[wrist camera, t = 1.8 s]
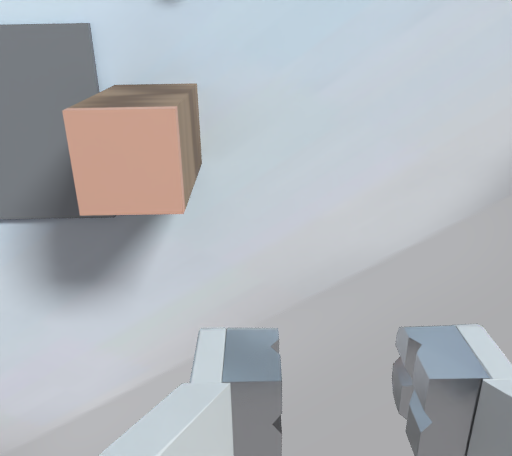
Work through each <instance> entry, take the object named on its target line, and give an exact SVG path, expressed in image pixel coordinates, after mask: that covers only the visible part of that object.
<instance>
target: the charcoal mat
mask: <svg viewBox="0 0 512 456" xmlns="http://www.w3.org/2000/svg"><path fill="white" fill-rule="evenodd" d="M97 93H99V86H98V79H97V72H96V64H95V57H94V50H93V43H92V36H91V28H90V23H76V24H21V25H0V219H45V218H103V217H115V216H116V215H90V216H80V213H79V207H78V201H77V195H76V189H75V183H74V177H73V171H72V165H71V159H70V154H69V148H68V142H67V136H66V130H65V124H64V118H63V112H62V110H64V109H66V108H68V107H71V106H73V105H75V104H77V103H79V102H81V101H83V100H85V99H87V98H89V97H91V96H93V95H95V94H97Z"/></svg>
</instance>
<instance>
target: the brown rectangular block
mask: <svg viewBox="0 0 512 456" xmlns="http://www.w3.org/2000/svg"><path fill="white" fill-rule="evenodd" d="M62 112H63V118H64V124H65V130H66V136H67V142H68V148H69V154H70V159H71V165H72V171H73V177H74V183H75V189H76V195H77V201H78V207H79V213H80V216H90V215H147V214H184V212H185V209H186V206H187V203H188V200H189V198H190V195H191V192H192V189H193V186H194V184H195V181H196V178H197V175H198V172H199V170H200V167H201V164H202V159H201V143H200V126H199V110H198V94H197V84H146V85H114V86H112V87H110V88H108V89H106V90H104V91H102V92H100V93H97V94H95V95H93V96H91V97H89V98H87V99H85V100H83V101H81V102H79V103H77V104H75V105H73V106H71V107H68V108H66V109H64V110H62Z"/></svg>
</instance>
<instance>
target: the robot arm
mask: <svg viewBox="0 0 512 456" xmlns="http://www.w3.org/2000/svg"><path fill="white" fill-rule="evenodd" d="M278 335H279V334H278V328H227V329H226V328H201V329H200V331H199V333H198V339H197V344H196V350H195V356H194V361H193V367H192V372H191V378H190V383H182V384H181V385H179V386H178V387H177V388H176V389H175V390H174V391H173V392H171V393H170V394H169V395H168V396H167V397H166V398H164V399H163V400H162V401H161V402H160V403H159V404H157V405H156V406H155V407H154V408H153V409H152V410H150V411H149V412H148V413H147V414H146V415H145V416H143V417H142V418H141V419H140V420H139V421H138V422H137V423H135V424H134V425H133V426H132V427H131V428H130V429H128V430H127V431H126V432H125V433H124V434H123V435H122V436H120V437H119V438H118V439H117V440H116V441H115V442H113V443H112V444H111V445H110V446H109V447H108V448H106V449H105V450H104V451H103V452H102V453H101V454H100V455H98V456H281V453H282V452H281V451H282V430H281V414H282V377H281V360H280V355H279V336H278ZM396 347H397V350H398V352H399V355H400V357H399V358H398V359H397V360H396V361H395V363H394V364H393V372H392V384H393V395H394V400H395V404H396V406H397V410H398V412H399V414H400V415H402V416H403V417H404V418H405V419H407V425H406V434H407V437H408V440H409V442H410V445H411V448H412V450H413V452H414V456H512V364H511V363H510V361H509V360H508V359H507V357H506V356H505V355H504V354H503V352H502V351H501V350H500V348H499V347H498V346H497V344H496V343H495V342H494V340H493V339H492V338H491V336H490V335H489V334H488V332H487V331H486V330H485V328H484V327H483V326H481V325H479V324H461V325H451V326H416V327H399V330H398V332H397V337H396Z"/></svg>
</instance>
